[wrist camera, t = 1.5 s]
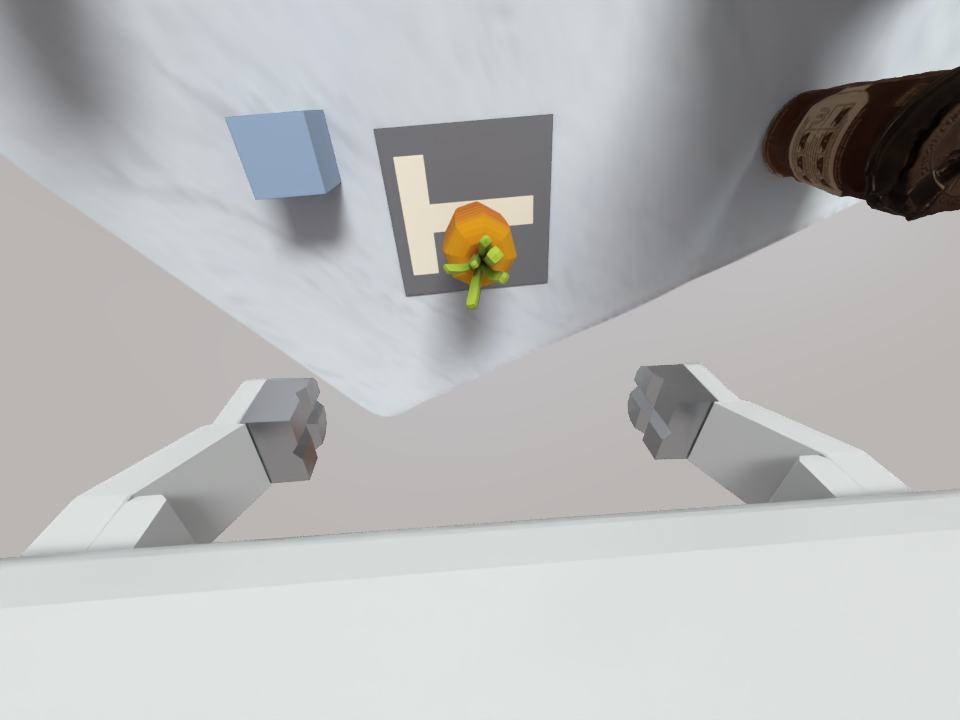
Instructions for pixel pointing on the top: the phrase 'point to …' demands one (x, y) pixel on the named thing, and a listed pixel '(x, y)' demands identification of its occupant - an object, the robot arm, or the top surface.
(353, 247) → the top surface
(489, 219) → the carrot
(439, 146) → the letter mat
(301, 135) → the slate cube
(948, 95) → the coffee cup
